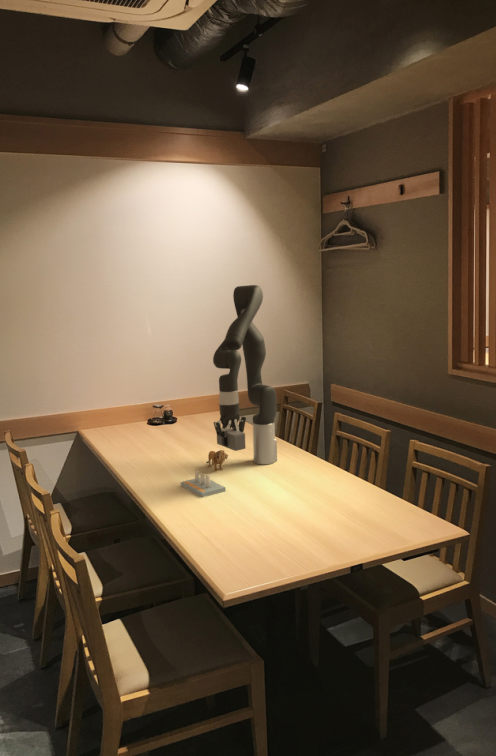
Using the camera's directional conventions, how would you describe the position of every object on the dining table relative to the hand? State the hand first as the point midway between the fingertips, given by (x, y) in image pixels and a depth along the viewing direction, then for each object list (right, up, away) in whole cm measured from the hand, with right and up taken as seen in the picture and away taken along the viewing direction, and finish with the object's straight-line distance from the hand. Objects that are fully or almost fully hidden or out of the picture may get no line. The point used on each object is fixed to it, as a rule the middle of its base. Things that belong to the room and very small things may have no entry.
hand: (231, 444), depth 250 cm
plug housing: (0, -1, 0) cm, 1 cm away
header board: (-11, -16, -5) cm, 20 cm away
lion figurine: (-6, -12, +19) cm, 23 cm away
